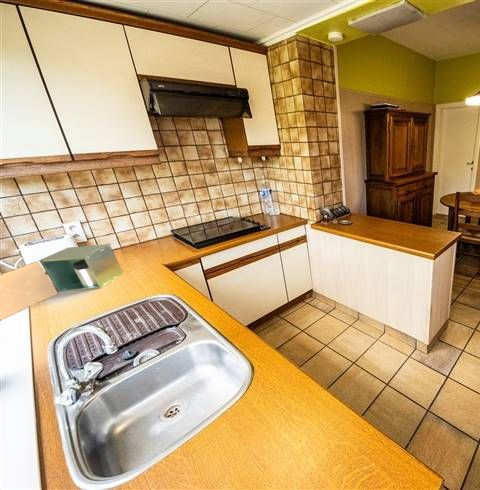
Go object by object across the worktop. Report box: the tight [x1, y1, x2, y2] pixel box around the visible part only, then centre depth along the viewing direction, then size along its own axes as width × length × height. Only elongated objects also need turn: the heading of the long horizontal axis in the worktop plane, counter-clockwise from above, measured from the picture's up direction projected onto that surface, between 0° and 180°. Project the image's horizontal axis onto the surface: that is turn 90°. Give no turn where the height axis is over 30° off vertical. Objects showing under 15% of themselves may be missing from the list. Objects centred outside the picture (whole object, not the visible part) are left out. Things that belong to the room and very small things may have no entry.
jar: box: [73, 259, 97, 286], centre depth 135 cm, size 9×8×12 cm
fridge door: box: [0, 261, 59, 321], centre depth 118 cm, size 6×20×18 cm, turn 172°
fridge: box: [38, 243, 124, 293], centre depth 135 cm, size 15×20×18 cm
